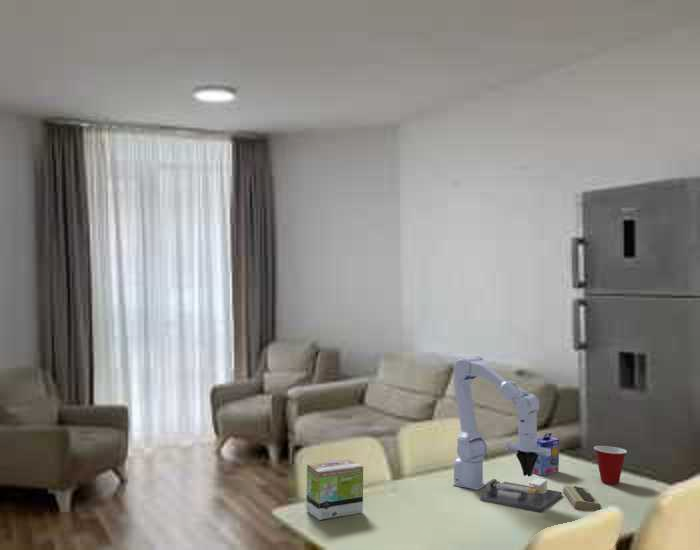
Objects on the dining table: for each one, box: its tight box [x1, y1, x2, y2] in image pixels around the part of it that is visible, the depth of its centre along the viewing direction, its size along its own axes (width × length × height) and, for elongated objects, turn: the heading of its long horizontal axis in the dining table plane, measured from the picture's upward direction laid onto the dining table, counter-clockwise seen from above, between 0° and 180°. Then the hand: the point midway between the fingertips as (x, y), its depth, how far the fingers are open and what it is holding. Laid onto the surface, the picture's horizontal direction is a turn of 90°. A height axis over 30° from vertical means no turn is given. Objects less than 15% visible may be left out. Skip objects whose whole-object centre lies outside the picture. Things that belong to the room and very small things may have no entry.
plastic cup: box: [593, 445, 628, 486], centre depth 247 cm, size 11×11×12 cm
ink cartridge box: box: [532, 432, 560, 477], centre depth 259 cm, size 10×6×14 cm, turn 125°
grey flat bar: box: [492, 480, 539, 494], centre depth 230 cm, size 15×4×1 cm, turn 54°
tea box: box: [305, 458, 364, 521], centre depth 219 cm, size 15×10×15 cm, turn 117°
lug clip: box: [528, 477, 548, 494], centre depth 232 cm, size 4×6×4 cm, turn 144°
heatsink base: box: [480, 478, 563, 513], centre depth 231 cm, size 20×19×4 cm
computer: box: [562, 485, 602, 510], centre depth 228 cm, size 16×8×3 cm, turn 176°
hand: (527, 475), depth 228 cm, fingers closed
